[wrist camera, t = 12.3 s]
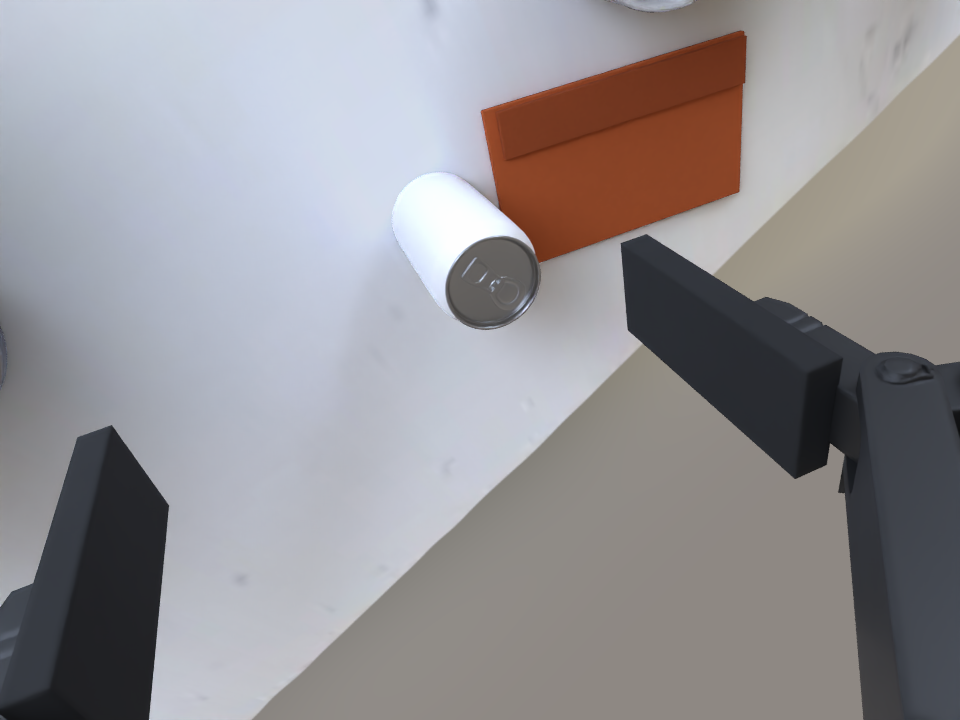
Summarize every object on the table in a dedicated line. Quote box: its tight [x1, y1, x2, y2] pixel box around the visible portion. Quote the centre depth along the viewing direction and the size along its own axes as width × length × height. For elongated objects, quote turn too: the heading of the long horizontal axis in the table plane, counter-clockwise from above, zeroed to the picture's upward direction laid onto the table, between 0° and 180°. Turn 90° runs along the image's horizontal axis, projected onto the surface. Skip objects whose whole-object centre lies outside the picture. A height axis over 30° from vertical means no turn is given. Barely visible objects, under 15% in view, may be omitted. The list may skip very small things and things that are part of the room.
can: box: [392, 172, 541, 330], centre depth 40 cm, size 6×6×12 cm
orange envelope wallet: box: [481, 31, 747, 263], centre depth 47 cm, size 20×12×1 cm, turn 102°
